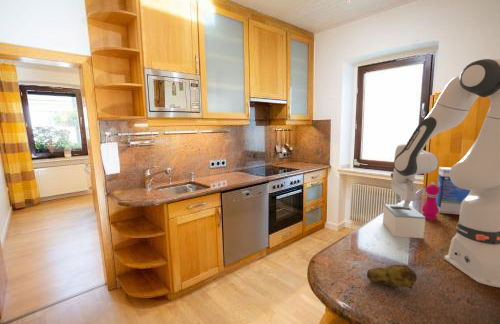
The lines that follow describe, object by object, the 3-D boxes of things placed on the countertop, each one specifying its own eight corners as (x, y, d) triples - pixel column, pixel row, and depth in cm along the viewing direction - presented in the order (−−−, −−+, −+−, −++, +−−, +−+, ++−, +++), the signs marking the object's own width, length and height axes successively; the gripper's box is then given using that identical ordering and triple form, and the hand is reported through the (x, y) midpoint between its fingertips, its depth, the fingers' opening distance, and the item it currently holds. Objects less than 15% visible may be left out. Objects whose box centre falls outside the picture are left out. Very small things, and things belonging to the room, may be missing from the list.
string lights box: (461, 211, 145) (467, 168, 141) (467, 215, 138) (473, 170, 134) (434, 208, 149) (438, 166, 146) (438, 212, 142) (443, 168, 139)
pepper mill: (432, 215, 138) (436, 180, 135) (440, 220, 131) (445, 183, 128) (418, 215, 139) (422, 180, 136) (426, 220, 132) (430, 183, 129)
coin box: (423, 238, 111) (425, 217, 109) (393, 236, 113) (395, 215, 112) (408, 224, 126) (410, 205, 125) (382, 222, 129) (384, 204, 127)
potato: (375, 272, 86) (376, 250, 85) (418, 291, 76) (420, 267, 75) (363, 282, 81) (365, 259, 79) (408, 303, 71) (411, 278, 70)
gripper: (421, 181, 108) (418, 212, 110) (402, 173, 128) (400, 199, 130) (405, 181, 109) (403, 211, 111) (389, 173, 129) (387, 198, 131)
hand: (401, 204), depth 121 cm, fingers open, 8 cm apart
